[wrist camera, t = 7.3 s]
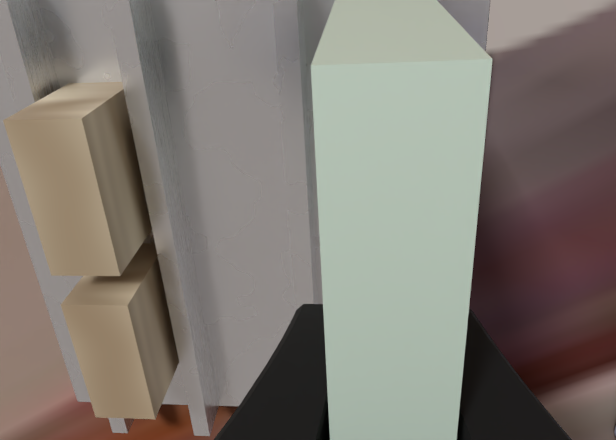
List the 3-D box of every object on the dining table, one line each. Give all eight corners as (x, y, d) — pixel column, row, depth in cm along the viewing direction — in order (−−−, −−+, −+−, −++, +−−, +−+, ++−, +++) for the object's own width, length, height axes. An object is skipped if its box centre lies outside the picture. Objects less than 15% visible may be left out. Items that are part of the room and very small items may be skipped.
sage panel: (407, -31, 11) (492, 60, 4) (397, 370, 15) (427, 750, 8) (344, -27, 11) (310, 65, 4) (353, 370, 15) (345, 744, 8)
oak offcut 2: (165, 243, 19) (127, 305, 16) (185, 346, 21) (155, 419, 18) (108, 243, 19) (60, 304, 16) (134, 345, 21) (95, 417, 18)
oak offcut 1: (134, 81, 17) (81, 118, 14) (160, 217, 19) (119, 276, 16) (69, 83, 17) (3, 120, 14) (102, 217, 19) (51, 275, 16)
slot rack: (487, -52, 15) (508, -46, 13) (448, 393, 23) (457, 444, 20) (-38, -25, 17) (-100, -16, 14) (88, 383, 24) (60, 430, 22)
